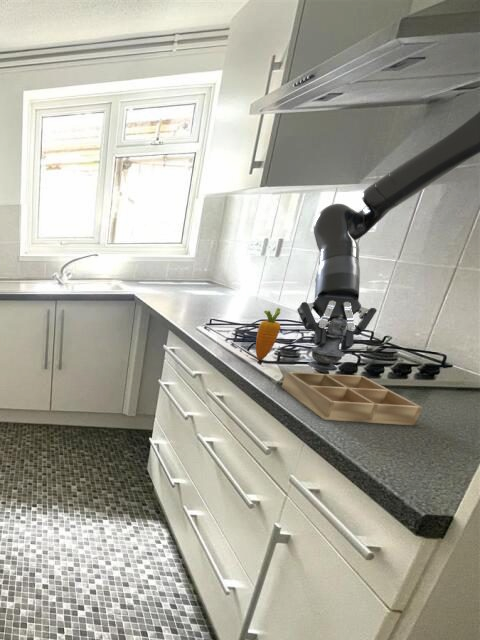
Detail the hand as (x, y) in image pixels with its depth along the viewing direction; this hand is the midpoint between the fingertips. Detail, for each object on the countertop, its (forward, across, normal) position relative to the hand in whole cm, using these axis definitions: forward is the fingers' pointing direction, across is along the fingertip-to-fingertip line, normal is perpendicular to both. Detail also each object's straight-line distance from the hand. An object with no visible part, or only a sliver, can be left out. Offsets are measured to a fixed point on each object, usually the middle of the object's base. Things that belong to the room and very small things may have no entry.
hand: (333, 347), depth 90 cm
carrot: (-8, -8, +26) cm, 28 cm away
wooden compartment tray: (+9, +5, +8) cm, 14 cm away
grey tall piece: (+2, 0, +5) cm, 6 cm away
